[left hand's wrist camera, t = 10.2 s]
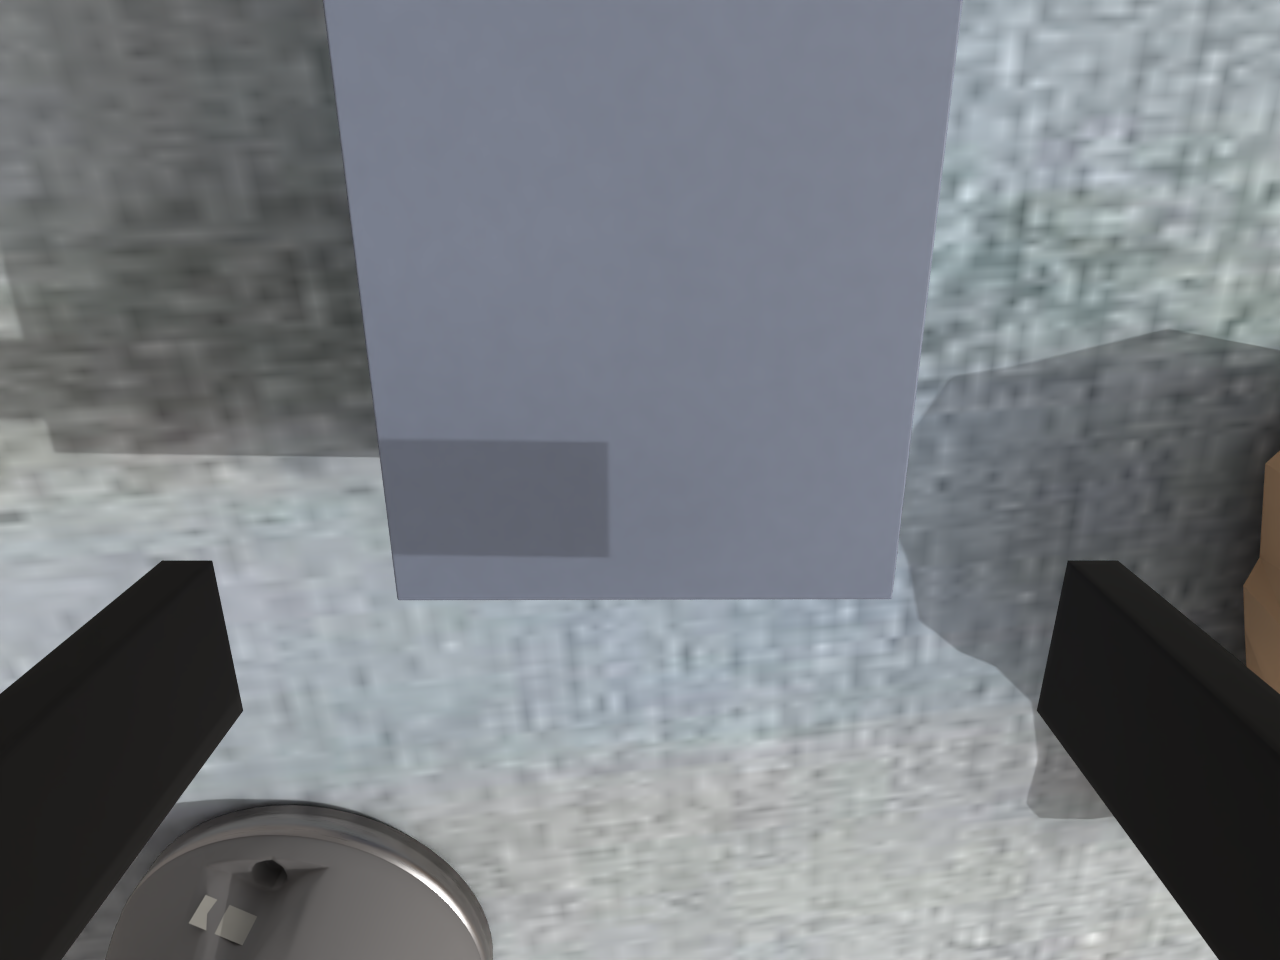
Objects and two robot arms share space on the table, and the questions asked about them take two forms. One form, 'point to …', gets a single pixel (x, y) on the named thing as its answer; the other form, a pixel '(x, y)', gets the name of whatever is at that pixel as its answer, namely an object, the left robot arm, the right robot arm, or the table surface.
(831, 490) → the cabinet
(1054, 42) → the table surface
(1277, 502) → the squash
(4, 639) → the table surface
